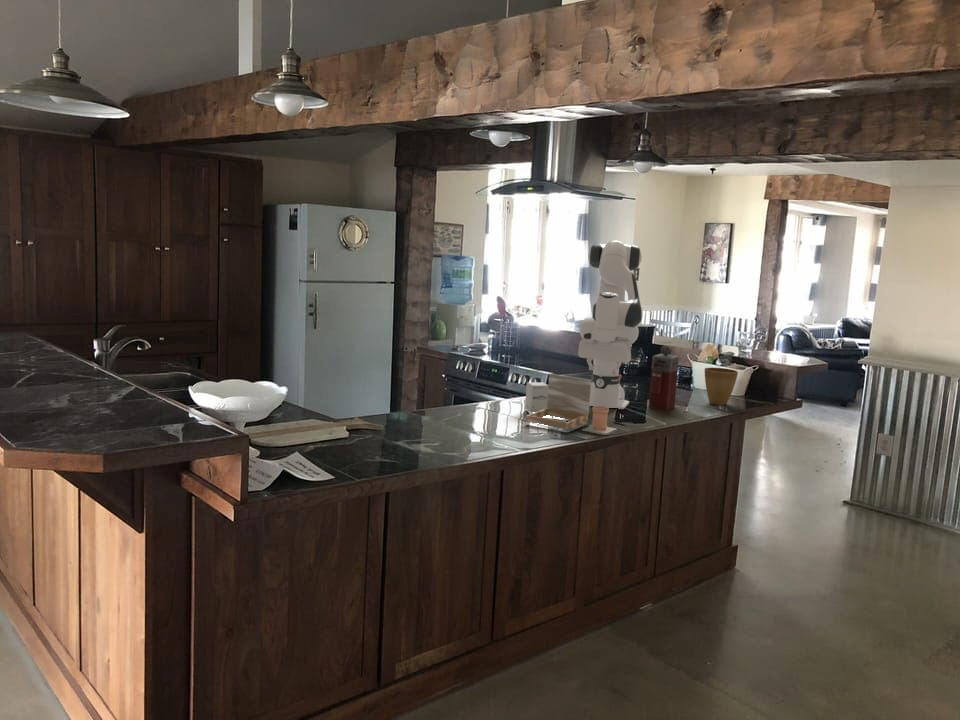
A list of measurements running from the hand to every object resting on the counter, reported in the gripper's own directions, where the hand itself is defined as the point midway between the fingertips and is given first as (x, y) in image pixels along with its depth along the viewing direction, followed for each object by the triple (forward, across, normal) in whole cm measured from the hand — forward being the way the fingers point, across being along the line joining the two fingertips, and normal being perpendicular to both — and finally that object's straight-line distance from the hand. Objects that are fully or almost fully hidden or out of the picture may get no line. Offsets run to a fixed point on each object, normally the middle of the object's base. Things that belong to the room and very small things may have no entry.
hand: (603, 372), depth 294 cm
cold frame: (+23, +17, +2) cm, 29 cm away
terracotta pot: (+22, 0, 0) cm, 22 cm away
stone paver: (+23, 0, 0) cm, 23 cm away
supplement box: (+23, +33, -11) cm, 42 cm away
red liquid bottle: (+23, -4, -60) cm, 64 cm away
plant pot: (+23, -22, -88) cm, 94 cm away
